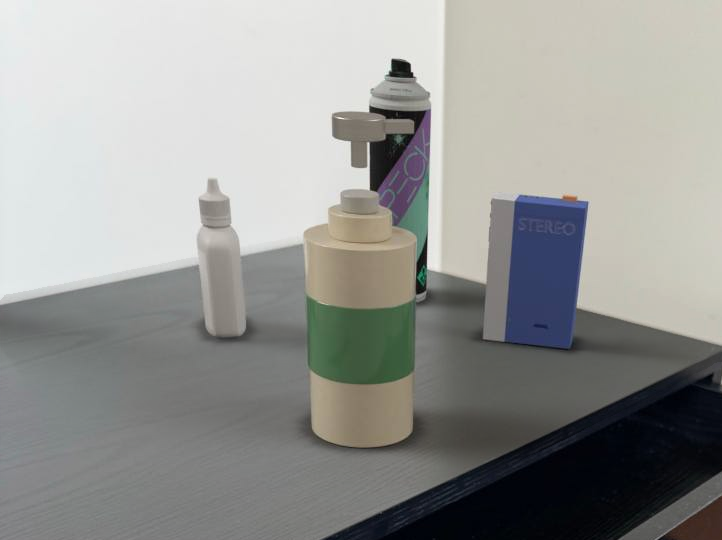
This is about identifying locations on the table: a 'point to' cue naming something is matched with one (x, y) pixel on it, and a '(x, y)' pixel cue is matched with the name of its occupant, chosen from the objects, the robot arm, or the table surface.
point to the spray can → (404, 159)
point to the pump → (366, 131)
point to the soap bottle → (360, 323)
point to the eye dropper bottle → (220, 265)
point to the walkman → (534, 269)
